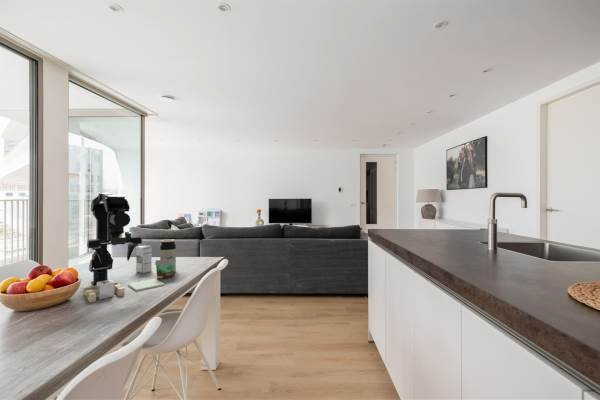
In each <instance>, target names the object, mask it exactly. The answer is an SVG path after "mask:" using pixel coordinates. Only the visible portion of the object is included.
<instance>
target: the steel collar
mask: <svg viewBox="0 0 600 400" xmlns="http://www.w3.org/2000/svg"><path fill="white" fill-rule="evenodd" d="M114 282H115V281H113V280H112V279H108V280H107V281H101V282H97V285H96V286H97V294H96V298H98V299H99V300H103V299H107V298H113V297H115V292H114Z"/></svg>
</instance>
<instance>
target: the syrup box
mask: <svg viewBox="0 0 600 400" xmlns="http://www.w3.org/2000/svg"><path fill="white" fill-rule="evenodd" d="M135 250H136V253H135V254H136V255H135V256H136V258H135V261H136V264H135V265H136V267H135V268H136V269H135V270H136V272H137V273H142V274H146V273H149V272H152V271H153V269H152V264H153V263H152V262H153V261H152V260H153V259H152V257H153V255H152V253H153V251H152V245H145V244H144V245H138V246H136V247H135Z"/></svg>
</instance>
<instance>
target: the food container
mask: <svg viewBox="0 0 600 400" xmlns="http://www.w3.org/2000/svg"><path fill="white" fill-rule="evenodd" d="M176 259H177V257H176V258H175V257H174V256H170V258H168V259H163V260H158V259H157V260H155V264H154V265H155V270H156V280H167V279H171V278H173V277H174V273H175V272H174V264H175V262H176V263H177V260H176Z"/></svg>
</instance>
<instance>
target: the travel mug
mask: <svg viewBox="0 0 600 400" xmlns="http://www.w3.org/2000/svg"><path fill="white" fill-rule="evenodd" d="M160 242H161V244H160V246H159V247H160V249H159V253H160V254H159V259H160V260H163V259H168V258H170V256H174V257H175V258H176V259H177V247H176V246H177V245H176V239H172V238H171V239H167V238H166V239H162V240H160ZM176 263H177V261H176V262H175V264H174V273H175V272H176V271H177V270H176V269H177V265H176Z"/></svg>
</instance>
